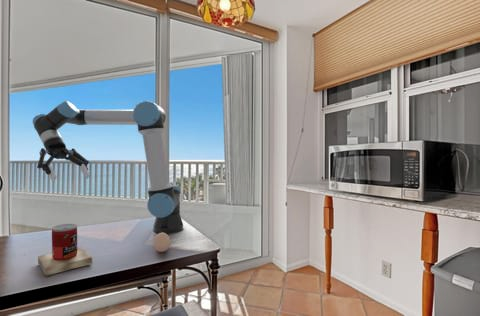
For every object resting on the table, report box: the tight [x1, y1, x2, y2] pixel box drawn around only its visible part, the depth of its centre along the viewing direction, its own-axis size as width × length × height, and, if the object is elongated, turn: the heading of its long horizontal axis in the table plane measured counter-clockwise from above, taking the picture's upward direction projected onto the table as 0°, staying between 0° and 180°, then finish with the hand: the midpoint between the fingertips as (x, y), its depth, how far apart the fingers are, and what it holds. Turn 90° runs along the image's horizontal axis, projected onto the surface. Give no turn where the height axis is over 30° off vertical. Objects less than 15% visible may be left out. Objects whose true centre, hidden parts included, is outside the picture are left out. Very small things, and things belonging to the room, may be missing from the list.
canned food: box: [51, 223, 78, 260], centre depth 100 cm, size 8×8×11 cm
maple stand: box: [37, 246, 93, 277], centre depth 100 cm, size 14×14×3 cm
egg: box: [153, 232, 171, 253], centre depth 114 cm, size 7×7×8 cm
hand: (72, 178), depth 116 cm, fingers open, 13 cm apart
